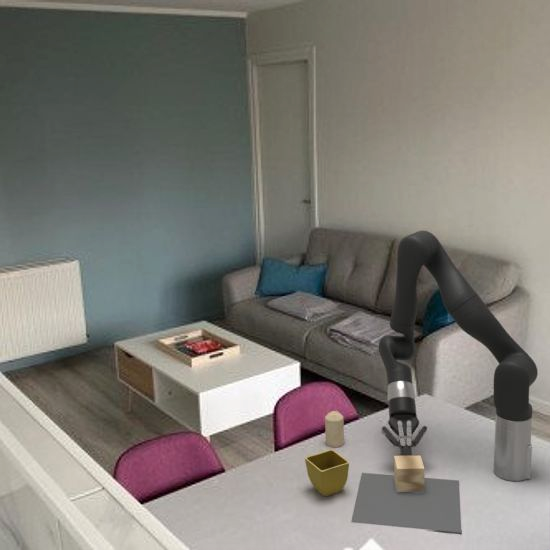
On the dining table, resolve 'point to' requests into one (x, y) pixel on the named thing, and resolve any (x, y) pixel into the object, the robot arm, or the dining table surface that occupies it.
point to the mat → (408, 504)
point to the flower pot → (327, 472)
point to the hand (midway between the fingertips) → (406, 461)
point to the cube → (409, 474)
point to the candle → (334, 429)
